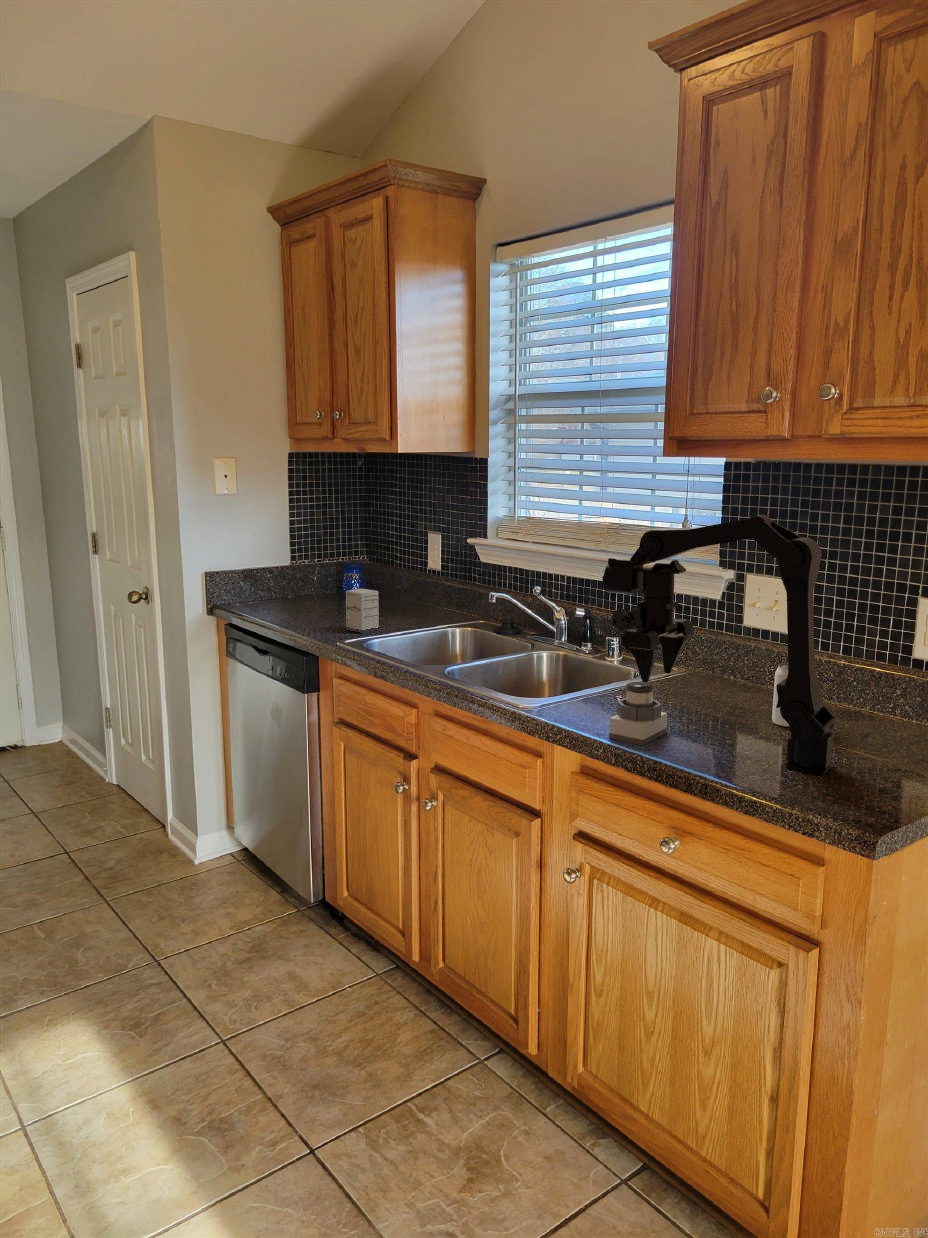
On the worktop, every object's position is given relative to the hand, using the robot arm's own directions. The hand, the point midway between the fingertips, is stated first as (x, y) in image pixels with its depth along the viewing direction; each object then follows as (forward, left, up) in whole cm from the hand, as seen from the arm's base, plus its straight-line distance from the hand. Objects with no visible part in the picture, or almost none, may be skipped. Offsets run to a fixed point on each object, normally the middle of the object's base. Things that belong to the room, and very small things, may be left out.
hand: (656, 677), depth 173 cm
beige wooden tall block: (+119, -41, -12) cm, 127 cm away
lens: (+3, 0, -8) cm, 9 cm away
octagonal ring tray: (+3, 0, -12) cm, 12 cm away
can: (-17, -26, -12) cm, 33 cm away
